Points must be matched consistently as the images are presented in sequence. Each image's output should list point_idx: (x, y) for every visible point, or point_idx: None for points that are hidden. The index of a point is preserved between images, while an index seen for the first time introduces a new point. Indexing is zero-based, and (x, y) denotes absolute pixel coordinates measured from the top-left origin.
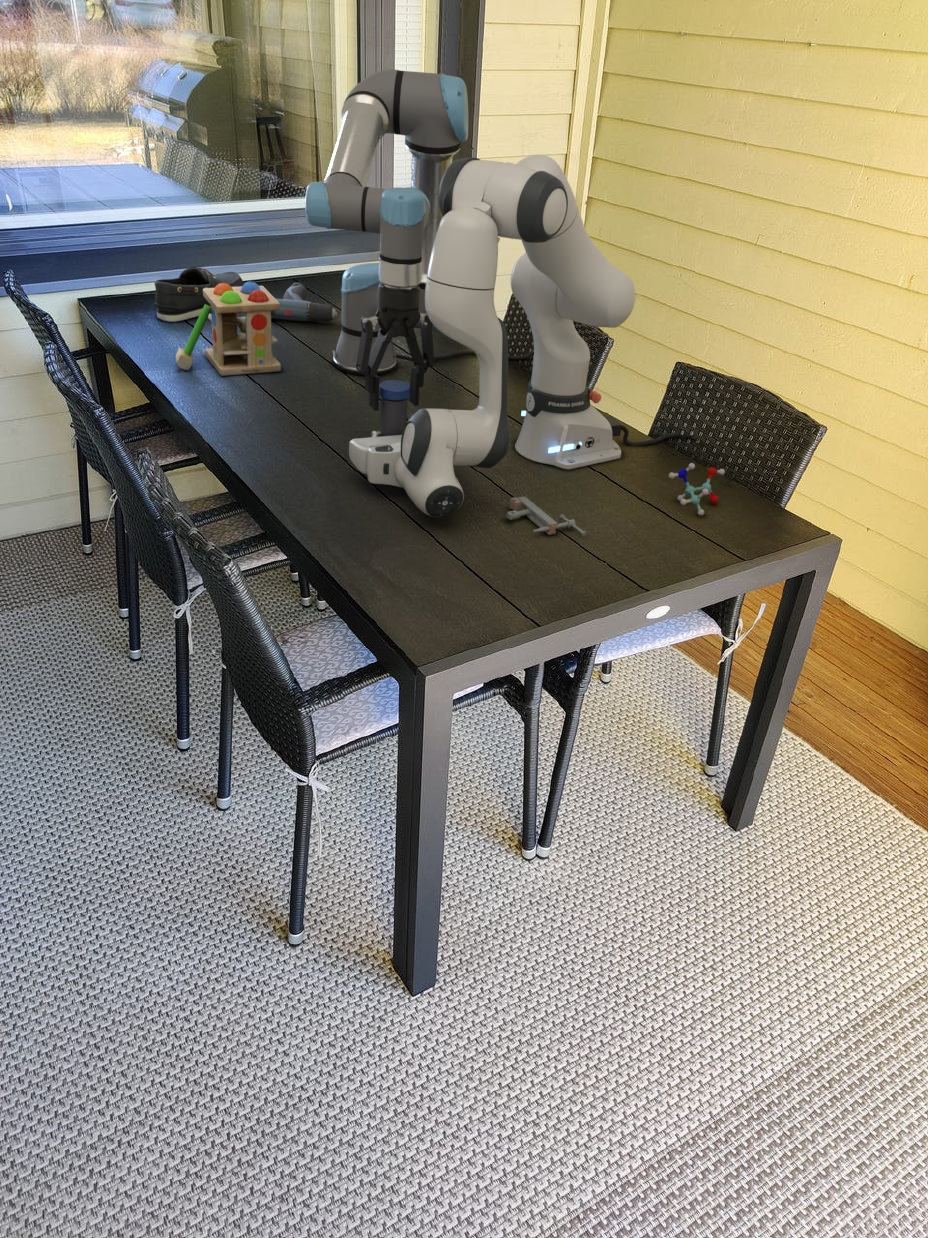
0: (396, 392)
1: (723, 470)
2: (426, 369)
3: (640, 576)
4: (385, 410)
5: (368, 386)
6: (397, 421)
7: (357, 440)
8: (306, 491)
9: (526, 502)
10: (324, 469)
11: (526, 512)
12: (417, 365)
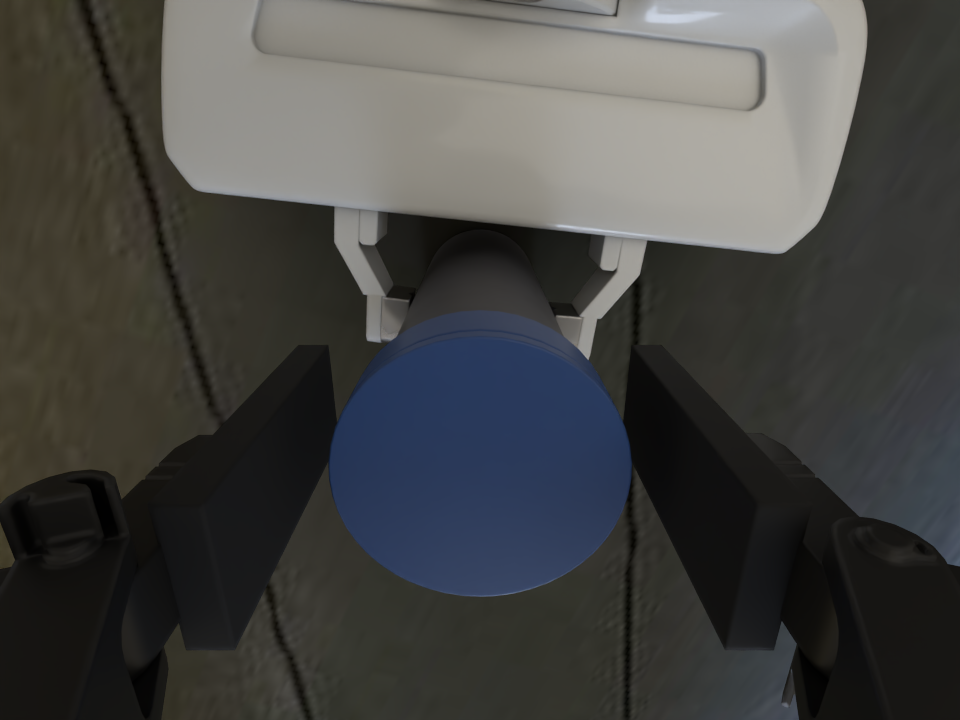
0: (531, 340)
1: None
2: (23, 512)
3: None
4: None
5: (808, 469)
6: (491, 278)
7: (783, 208)
8: (920, 169)
9: None
10: (744, 331)
11: None
12: (130, 637)
